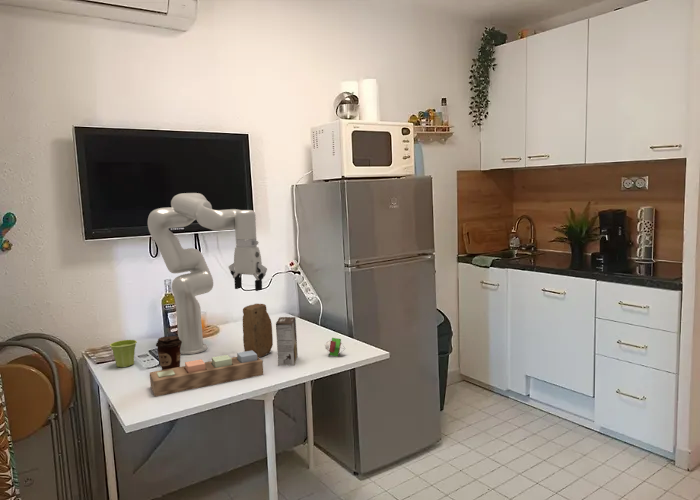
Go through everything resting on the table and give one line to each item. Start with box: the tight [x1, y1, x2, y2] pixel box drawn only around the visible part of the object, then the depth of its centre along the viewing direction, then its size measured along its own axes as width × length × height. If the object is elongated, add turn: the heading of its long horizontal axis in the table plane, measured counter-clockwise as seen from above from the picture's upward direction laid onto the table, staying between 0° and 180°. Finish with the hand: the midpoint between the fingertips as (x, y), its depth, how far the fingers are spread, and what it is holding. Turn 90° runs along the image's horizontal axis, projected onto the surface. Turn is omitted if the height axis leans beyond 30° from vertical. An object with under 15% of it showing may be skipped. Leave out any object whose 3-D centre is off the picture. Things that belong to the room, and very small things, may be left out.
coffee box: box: [275, 316, 299, 367], centre depth 196 cm, size 9×6×16 cm
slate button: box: [236, 350, 257, 363], centre depth 186 cm, size 6×6×4 cm
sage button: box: [211, 354, 232, 368], centre depth 182 cm, size 6×6×4 cm
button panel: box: [149, 356, 264, 397], centre depth 180 cm, size 36×10×5 cm, turn 118°
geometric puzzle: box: [324, 337, 346, 357], centre depth 202 cm, size 7×7×8 cm
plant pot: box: [109, 339, 137, 368], centre depth 200 cm, size 9×9×9 cm
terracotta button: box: [184, 359, 206, 373], centre depth 177 cm, size 6×6×4 cm
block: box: [242, 303, 274, 358], centre depth 206 cm, size 11×8×20 cm
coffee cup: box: [155, 335, 182, 370], centre depth 188 cm, size 9×8×13 cm
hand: (248, 289), depth 196 cm, fingers open, 9 cm apart
